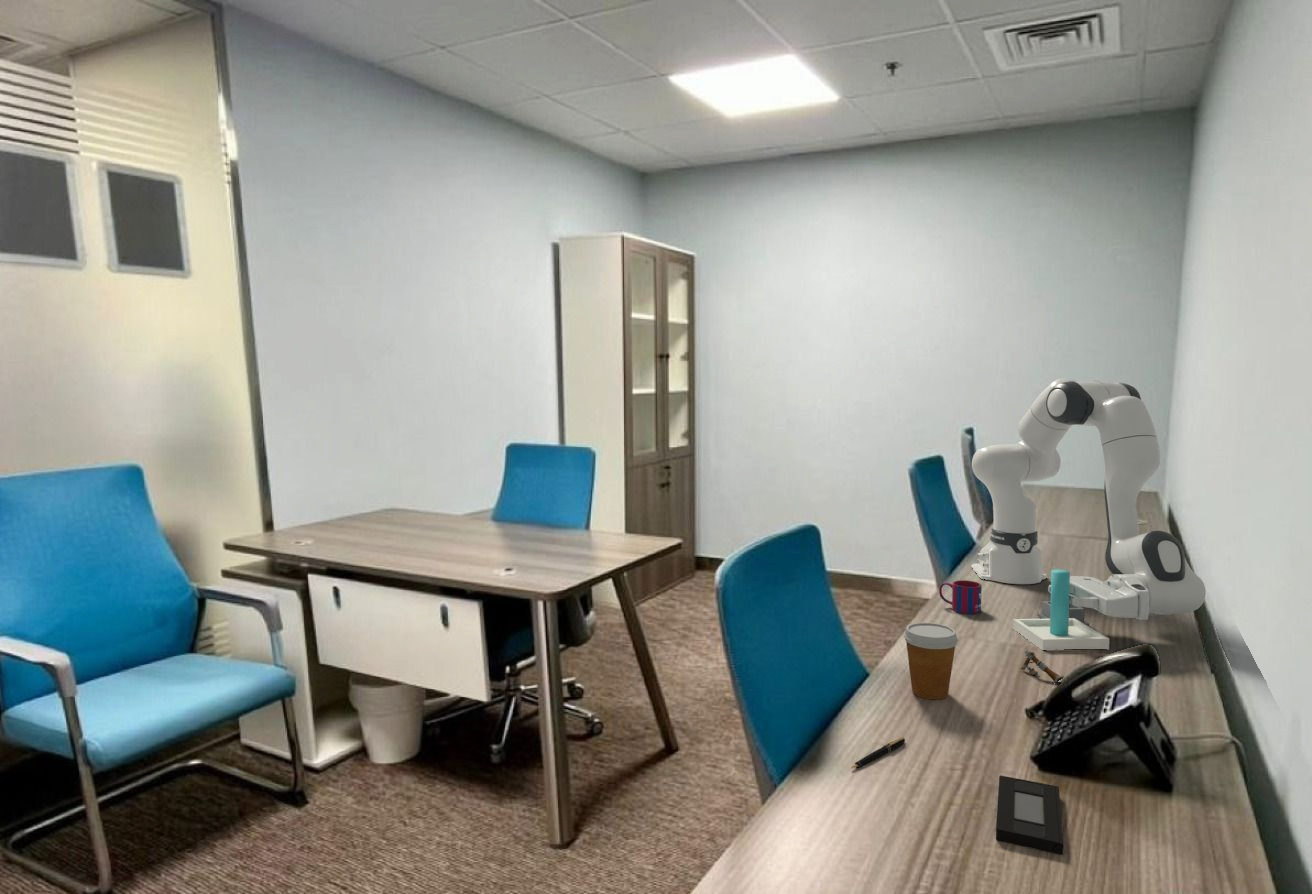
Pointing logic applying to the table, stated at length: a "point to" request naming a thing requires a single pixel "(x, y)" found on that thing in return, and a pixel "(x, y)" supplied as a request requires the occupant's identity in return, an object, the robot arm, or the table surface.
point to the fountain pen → (880, 752)
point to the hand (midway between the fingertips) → (1060, 595)
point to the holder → (1074, 612)
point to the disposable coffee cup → (930, 658)
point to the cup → (964, 596)
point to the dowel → (1059, 602)
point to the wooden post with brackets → (1041, 665)
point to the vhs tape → (1029, 815)
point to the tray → (1076, 639)
